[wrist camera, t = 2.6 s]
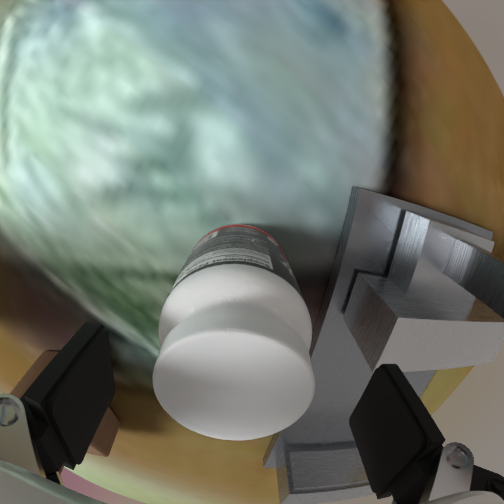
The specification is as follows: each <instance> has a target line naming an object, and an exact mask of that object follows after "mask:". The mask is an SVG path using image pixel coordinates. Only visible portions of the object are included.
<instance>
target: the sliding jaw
mask: <svg viewBox="0 0 504 504" xmlns="http://www.w3.org/2000/svg"><path fill="white" fill-rule="evenodd" d="M494 243H495V242H493V241H491V240H489V239H487V238H485V237H482V236H480V235H478V234H476V233H473V232H471V231H468V230H465V229H462V228H459V227H456V226H453V225H450V224H447V223H444V222H441V221H438V220H435V219H432V218H429V217H425V216H422V215H419V214H415V213H412V212H409V211H406V214H405V218H404V222H403V225H402V229H401V233H400V236H399V240H398V243H397V247H396V250H395V254H394V257H393V260H392V263H391V267H390V270H389V273H388V276H387V277H384V276H378V275H371V274H365V273H358V274H357V278H356V281H355V284H354V287H353V290H352V293H351V296H350V299H349V302H348V305H347V308H346V311H345V314H344V317H343V320H344V322H345V323H346V325H347V327H348V329H349V331H350V332H351V334H352V336H353V338H354V339H355V341H356V343H357V345H358V347H359V349H360V350H361V352H362V354H363V356H364V358H365V360H366V361H367V363H368V365H369V367H370V369H371V371H372V373H374V371H375V369H376V368H379V366H380V365H381V364H397V365H398V366H399V368H400V369H401V371H402V372H410V371H426V370H438V369H449V368H458V367H466V366H474V365H481V364H487V363H491V362H492V361H493V359H494V358H495V356H496V354H497V352H498V350H499V348H500V347H501V345H502V343H503V341H504V259H502V258H501V257H499V256H497V255H495V254H493V253H492V250H493V246H494Z"/></svg>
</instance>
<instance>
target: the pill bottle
mask: <svg viewBox="0 0 504 504" xmlns="http://www.w3.org/2000/svg"><path fill="white" fill-rule="evenodd" d="M158 330H159V341H160V346H161V349H160V352H159V355H158V357H157V360H156V363H155V366H154V370H153V376H152V379H153V388H154V392H155V395H156V397H157V400H158V401H159V403H160V405H161V406H162V407H163V409H164V410H165V411H166V412H167V413H168V414H169V415H170V416H171V417H172V418H173V419H174V420H176V421H177V422H178V423H180V424H181V425H183V426H184V427H186V428H188V429H190V430H192V431H194V432H197V433H199V434H202V435H205V436H209V437H213V438H218V439H224V440H250V439H256V438H262V437H265V436H269V435H272V434H274V433H277V432H279V431H281V430H283V429H285V428H287V427H289V426H290V425H291V424H293V423H294V422H296V421H297V420H298V419H299V418H300V417H301V416H302V415H303V414H304V413H305V412H306V410H307V409H308V407H309V406H310V404H311V402H312V399H313V396H314V392H315V377H314V373H313V369H312V365H311V359H310V355H309V349H310V346H311V340H312V324H311V319H310V315H309V311H308V308H307V306H306V303H305V300H304V298H303V296H302V293H301V291H300V288H299V286H298V284H297V281H296V279H295V276H294V274H293V271H292V269H291V267H290V264H289V262H288V259H287V257H286V255H285V253H284V251H283V249H282V248H281V246H280V245H279V244H278V242H277V241H276V240H275V239H274V238H273V237H272V236H270V235H269V234H268V233H266V232H265V231H263V230H261V229H259V228H256V227H253V226H250V225H244V224H232V225H226V226H222V227H219V228H217V229H215V230H213V231H211V232H209V233H208V234H207V235H205V236H204V237H203V238H202V239H201V240H200V241H199V242H198V243H197V245H196V246H195V247H194V249H193V250H192V252H191V254H190V256H189V258H188V260H187V261H186V263H185V265H184V267H183V269H182V271H181V272H180V274H179V276H178V278H177V280H176V282H175V284H174V286H173V287H172V289H171V291H170V293H169V295H168V296H167V299H166V301H165V303H164V305H163V309H162V311H161V315H160V320H159V328H158Z"/></svg>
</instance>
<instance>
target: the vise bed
mask: <svg viewBox="0 0 504 504" xmlns="http://www.w3.org/2000/svg"><path fill="white" fill-rule="evenodd" d="M406 211H409V212H412V213H415V214H419V215H422V216H425V217H429V218H432V219H435V220H438V221H441V222H444V223H447V224H450V225H453V226H456V227H459V228H462V229H465V230H468V231H471V232H473V233H476V234H478V235H480V236H482V237H485V238H487V239H489V240H492V236H493V233H494V232H491V231H489V230H487V229H484V228H482V227H479V226H477V225H474V224H471V223H469V222H466V221H463V220H461V219H458V218H455V217H452V216H449V215H447V214H444V213H441V212H438V211H435V210H432V209H429V208H426V207H423V206H420V205H416V204H413V203H410V202H407V201H404V200H400V199H397V198H393V197H390V196H387V195H383V194H380V193H376V192H372V191H369V190H365V189H361V188H357V187H354V186H353V187H352V192H351V196H350V201H349V205H348V209H347V214H346V218H345V222H344V226H343V230H342V234H341V238H340V242H339V246H338V249H337V253H336V257H335V261H334V264H333V268H332V271H331V275H330V278H329V282H328V285H327V289H326V292H325V295H324V299H323V302H322V305H321V308H320V312H319V315H318V318H317V321H316V324H315V327H314V330H313V333H312V340H311V346H310V349H309V355H310V359H311V365H312V369H313V373H314V377H315V392H314V396H313V399H312V402H311V404H310V406H309V407H308V409H307V410H306V412H305V413H304V414H303V415H302V416H301V417H300V418H299V419H298V420H297V421H296V422H294V423H293V424H291V425H290V426H289V427H287V428H285V429H283V430H281V431H279V432H277V433H274V435H273V438H272V440H271V442H270V444H269V447H268V449H267V451H266V453H265V456H264V458H263V465H264V468H277V478H278V488H279V499H280V504H315V503H324V502H332V501H340V500H346V499H352V498H358V497H363V496H368V495H373V494H376V493H373V492H372V490H371V487H370V484H369V481H368V478H367V475H366V472H365V469H364V466H363V463H362V460H361V457H360V454H359V451H358V448H357V446H356V443H355V440H354V437H353V434H352V431H351V428H350V426H349V418H350V416H351V414H352V412H353V410H354V409H355V407H356V405H357V403H358V402H359V400H360V398H361V396H362V394H363V392H364V390H365V388H366V387H367V385H368V383H369V381H370V379H371V377H372V375H373V373H372V371H371V369H370V367H369V365H368V363H367V361H366V360H365V358H364V356H363V354H362V352H361V350H360V349H359V347H358V345H357V343H356V341H355V339H354V338H353V336H352V334H351V332H350V331H349V329H348V327H347V325H346V323H345V322H344V320H343V317H344V314H345V311H346V308H347V305H348V302H349V299H350V296H351V293H352V290H353V287H354V284H355V281H356V278H357V274H358V273H365V274H371V275H378V276H384V277H387V276H388V273H389V270H390V267H391V263H392V260H393V257H394V254H395V250H396V247H397V243H398V240H399V236H400V233H401V229H402V225H403V222H404V218H405V214H406ZM435 371H436V370H426V371H410V372H403V374H404V375H405V377H406V378H407V380H408V381H409V383H410V384H411V386H412V387H413V389H414V390H415V392H416V393H417V395H418V397H420V396H421V394H422V393H423V391H424V389H425V388H426V386H427V385H428V383H429V381H430V380H431V378H432V376H433V375H434V373H435Z"/></svg>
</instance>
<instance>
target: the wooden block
mask: <svg viewBox="0 0 504 504" xmlns="http://www.w3.org/2000/svg"><path fill="white" fill-rule="evenodd" d="M57 353H58V351H45V352H43V353H42V354H41V355H40V356H39V358H38V359H37V360H36V361H35V363H34V364H33V365H32V366H31V367H30V369H29V370H28V371H27V372H26V374H25V375H24V376H23V377H22V379H21V380H20V381H19V382H18V384H17V385H16V386H15V388H14V389H13V390H12V392H11V393H10V394H11V395H14V396H15V397H17V398H18V399H20V398H21V397H22V396H23V394H24V393H25V392H26V391H27V389H28V388H29V387H30V386H31V384H32V383H33V382H34V381H35V379H36V378H37V377H38V376H39V374H40V373H41V372H42V371H43V370H44V368H45V367H46V366H47V365H48V364H49V362H50V361H51V360H52V359H53V358H54V357H55V355H56V354H57ZM119 426H120V423H119V420H118V419H117V417H116V416H115V414H114V413H113V411H112V410H111V408H110V407H109V406H108V408H107V410H106V412H105V414H104V416H103V418H102V420H101V422H100V424H99V426H98V429H97V431H96V433H95V435H94V437H93V439H92V441H91V443H90V446H89V448H88V450H87V452H86V453H89V454H94V455H99V456H104V457H107V456H108V455H109V453H110V450H111V448H112V445H113V442H114V439H115V437H116V434H117V431H118V429H119ZM63 467H64V466H63V465H62V467H61V469H60V471H59V474H61V472H62V470H63Z"/></svg>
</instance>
